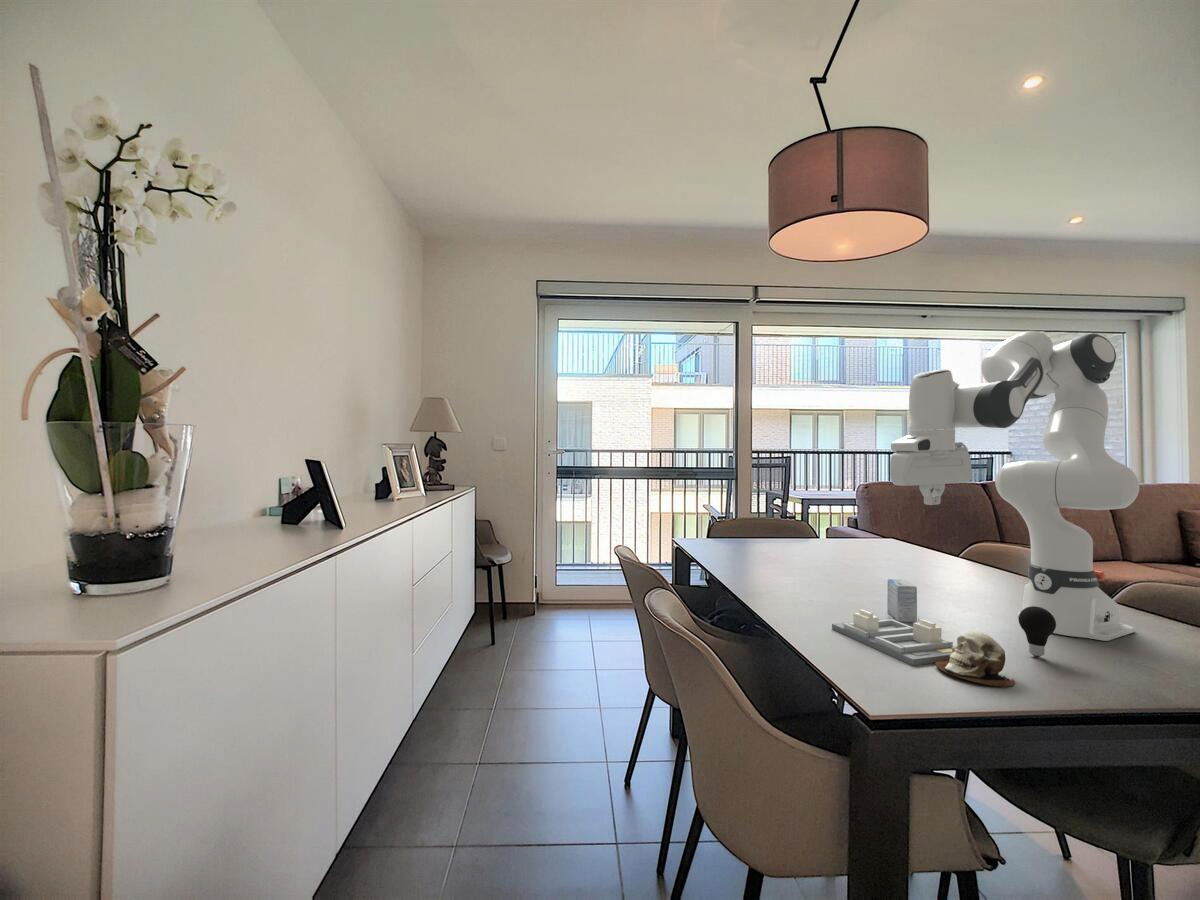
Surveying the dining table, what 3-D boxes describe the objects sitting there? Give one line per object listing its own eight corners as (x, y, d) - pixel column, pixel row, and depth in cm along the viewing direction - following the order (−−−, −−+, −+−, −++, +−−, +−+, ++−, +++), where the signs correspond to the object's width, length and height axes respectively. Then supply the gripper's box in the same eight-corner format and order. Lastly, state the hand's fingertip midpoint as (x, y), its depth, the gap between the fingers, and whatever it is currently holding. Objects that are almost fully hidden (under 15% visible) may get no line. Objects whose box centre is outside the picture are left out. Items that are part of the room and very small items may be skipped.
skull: (975, 686, 93) (943, 628, 100) (942, 706, 100) (915, 651, 107) (1038, 681, 94) (1003, 624, 101) (1001, 701, 102) (970, 647, 109)
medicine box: (917, 623, 130) (917, 586, 130) (897, 621, 131) (897, 585, 131) (905, 613, 138) (906, 579, 138) (886, 612, 139) (887, 578, 139)
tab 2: (924, 638, 116) (924, 617, 116) (941, 644, 112) (941, 623, 112) (913, 639, 115) (913, 619, 115) (929, 646, 111) (929, 624, 111)
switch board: (831, 629, 125) (832, 619, 125) (881, 624, 129) (881, 614, 129) (912, 665, 104) (912, 654, 104) (968, 658, 108) (969, 647, 108)
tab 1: (864, 627, 122) (864, 608, 122) (878, 633, 118) (878, 613, 118) (853, 628, 121) (853, 609, 121) (867, 634, 117) (867, 614, 117)
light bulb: (1046, 664, 105) (1047, 612, 105) (1011, 654, 110) (1012, 604, 110) (1061, 659, 108) (1062, 609, 108) (1027, 650, 113) (1027, 601, 113)
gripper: (954, 441, 129) (954, 500, 129) (884, 443, 123) (885, 505, 123) (979, 441, 123) (980, 503, 123) (908, 443, 117) (908, 508, 117)
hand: (932, 504), depth 123 cm, fingers closed
